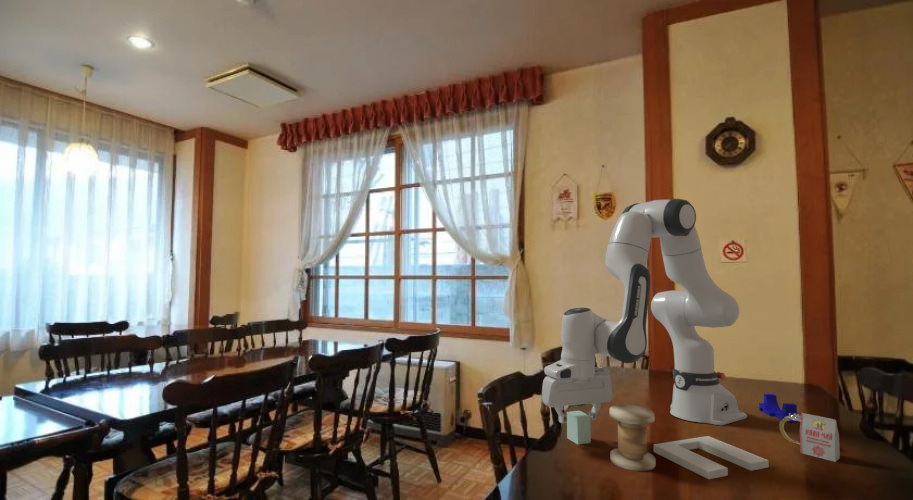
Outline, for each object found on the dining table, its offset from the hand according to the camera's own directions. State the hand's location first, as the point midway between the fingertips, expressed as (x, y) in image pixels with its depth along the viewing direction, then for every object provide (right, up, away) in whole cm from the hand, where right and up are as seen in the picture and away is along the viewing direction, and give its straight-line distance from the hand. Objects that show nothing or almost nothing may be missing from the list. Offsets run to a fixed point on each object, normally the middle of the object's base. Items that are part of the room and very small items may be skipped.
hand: (577, 420), depth 118 cm
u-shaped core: (+28, -5, -13) cm, 31 cm away
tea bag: (+56, -5, -11) cm, 57 cm away
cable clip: (+67, -7, +19) cm, 70 cm away
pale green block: (0, -5, 0) cm, 5 cm away
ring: (+56, -5, -3) cm, 57 cm away
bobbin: (+9, -5, -14) cm, 17 cm away
